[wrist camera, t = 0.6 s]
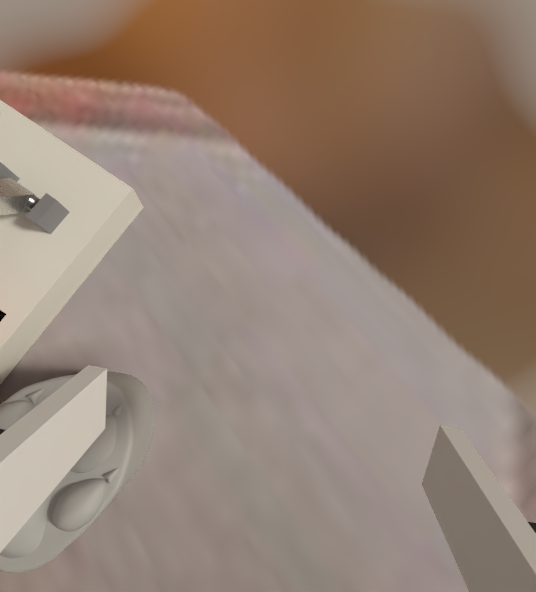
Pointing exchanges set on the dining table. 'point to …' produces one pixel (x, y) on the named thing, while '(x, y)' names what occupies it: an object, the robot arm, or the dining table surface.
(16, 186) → the lever
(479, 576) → the robot arm
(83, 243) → the panel
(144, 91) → the dining table surface
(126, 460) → the lumpy-topped squat cylinder
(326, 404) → the dining table surface
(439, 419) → the dining table surface
